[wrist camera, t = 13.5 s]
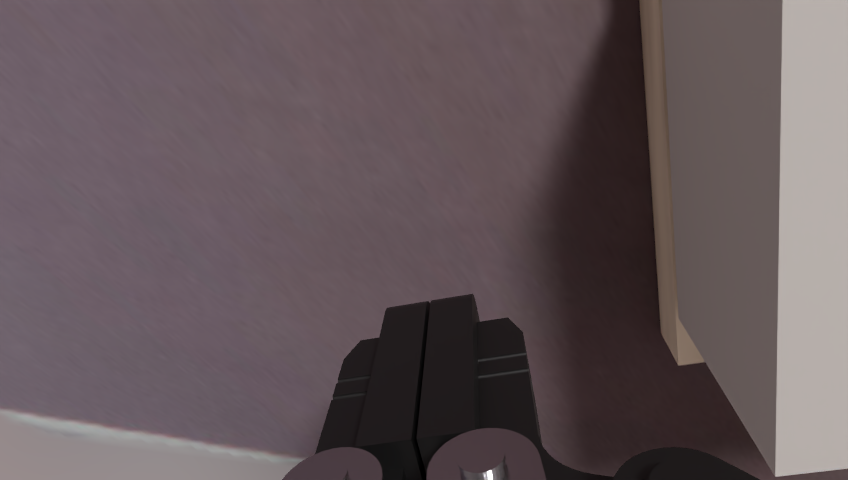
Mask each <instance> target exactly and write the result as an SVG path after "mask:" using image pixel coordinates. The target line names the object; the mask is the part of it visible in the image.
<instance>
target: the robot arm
mask: <svg viewBox="0 0 848 480" xmlns="http://www.w3.org/2000/svg"><path fill="white" fill-rule="evenodd" d="M282 480H759V479H758V478H756V477H754V476H752V475H750V474H748V473H746V472H744V471H742V470H740V469H738V468H736V467H734V466H732V465H730V464H729V463H727V462H725V461H723V460H721V459H719V458H717V457H714V456H712V455H710V454H707V453H704V452H701V451H698V450H693V449H687V448H676V447H671V448H659V449H653V450H649V451H646V452H643V453H641V454H638V455H636V456H634V457H632V458H631V459H629V460H628V461H626V462H625V463H624V464H623V465H622V466H621V467H620V468H619V470H618V471H617V473H616V474H615V476H614V477H610V476H602V475H594V474H589V473H584V472H580V471H577V470H574V469H571V468H569V467H567V466H565V465H563V464H561V463H559V462H558V461H556V460H555V459H554V458H553V457H551V456H550V455H549V454H548V453H547V451H546V450H545V449H544V448H543V446H542V441H541V434H540V428H539V422H538V415H537V409H536V403H535V397H534V392H533V386H532V381H531V375H530V370H529V364H528V359H527V353H526V347H525V342H524V336H523V332H522V331H521V330H520V329H519V328H518V327H517V326H516V325H515V324H514V323H513V322H512V321H511V320H510V319H509V318H502V319H495V320H489V321H482V322H480V321H479V316H478V311H477V306H476V302H475V298H474V295H473V294H469V295H463V296H457V297H450V298H444V299H438V300H432V301H431V303H429V302H428V301H426V302H420V303H414V304H408V305H402V306H395V307H389V308H387V309H386V311H385V315H384V320H383V324H382V329H381V333H380V337H379V338H374V339H367V340H361V341H360V342H359V343H358V344H357V345H356V346H355V348H354V349H353V350H352V351H351V352H350V353H349V354H348V355H347V356H346V358H345V359H344V361H343V364H342V367H341V370H340V374H339V377H338V383H337V384H336V387H335V390H334V394H333V400H331V404H330V407H329V410H328V413H327V417H326V420H325V423H324V427H323V430H322V433H321V437H320V440H319V443H318V446H317V450H316V453H315V455H313V456H310V457H308V458H307V459H305V460H303V461H302V462H300V463H299V464H298V465H296V466H295V467H294V468H293V469H292V470H290V472H288V474H287V475H286V476H285V477H284V478H283V479H282Z"/></svg>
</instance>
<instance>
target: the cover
mask: <svg viewBox="0 0 848 480" xmlns="http://www.w3.org/2000/svg"><path fill="white" fill-rule="evenodd" d="M662 13H663V32H664V51H665V70H666V89H667V108H668V127H669V146H670V165H671V184H672V203H673V222H674V241H675V260H676V279H677V298H678V317H679V320H680V322H681V323H682V325H683V326H684V328H685V330H686V331H687V333H688V335H689V336H690V338H691V340H692V341H693V343H694V344H695V346H696V348H697V349H698V351H699V353H700V354H701V356H702V358H703V359H704V361H705V363H706V364H707V366H708V367H709V369H710V371H711V372H712V374H713V376H714V377H715V379H716V381H717V382H718V384H719V385H720V387H721V389H722V390H723V392H724V394H725V395H726V397H727V399H728V400H729V402H730V403H731V405H732V407H733V408H734V410H735V412H736V413H737V415H738V417H739V418H740V420H741V421H742V423H743V425H744V426H745V428H746V430H747V431H748V433H749V435H750V436H751V438H752V439H753V441H754V443H755V444H756V446H757V448H758V449H759V451H760V453H761V454H762V456H763V457H764V459H765V461H766V462H767V464H768V466H769V467H770V469H771V471H772V472H773V474H774V475H775V477H777V476H786V475H795V474H803V473H812V472H821V471H830V470H838V469H847V468H848V0H662Z"/></svg>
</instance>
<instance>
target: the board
mask: <svg viewBox="0 0 848 480" xmlns="http://www.w3.org/2000/svg"><path fill="white" fill-rule="evenodd" d="M639 4H640V19H641V34H642V50H643V65H644V80H645V96H646V111H647V126H648V141H649V157H650V172H651V187H652V203H653V218H654V233H655V249H656V264H657V279H658V295H659V310H660V325H661V334H662V336H663V338H664V340H665V342H666V344H667V345H668V347H669V349H670V351H671V353H672V355H673V357H674V358H675V360H676V362H677V364H678V366H680V365H687V364H695V363H702V362H705V361H704V359H703V358H702V356H701V354H700V353H699V351H698V349H697V348H696V346H695V344H694V343H693V341H692V340H691V338H690V336H689V335H688V333H687V331H686V330H685V328H684V326H683V325H682V323H681V322H680V320H679V317H678V298H677V279H676V260H675V241H674V222H673V203H672V184H671V165H670V146H669V127H668V108H667V89H666V70H665V51H664V32H663V13H662V0H639Z"/></svg>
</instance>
